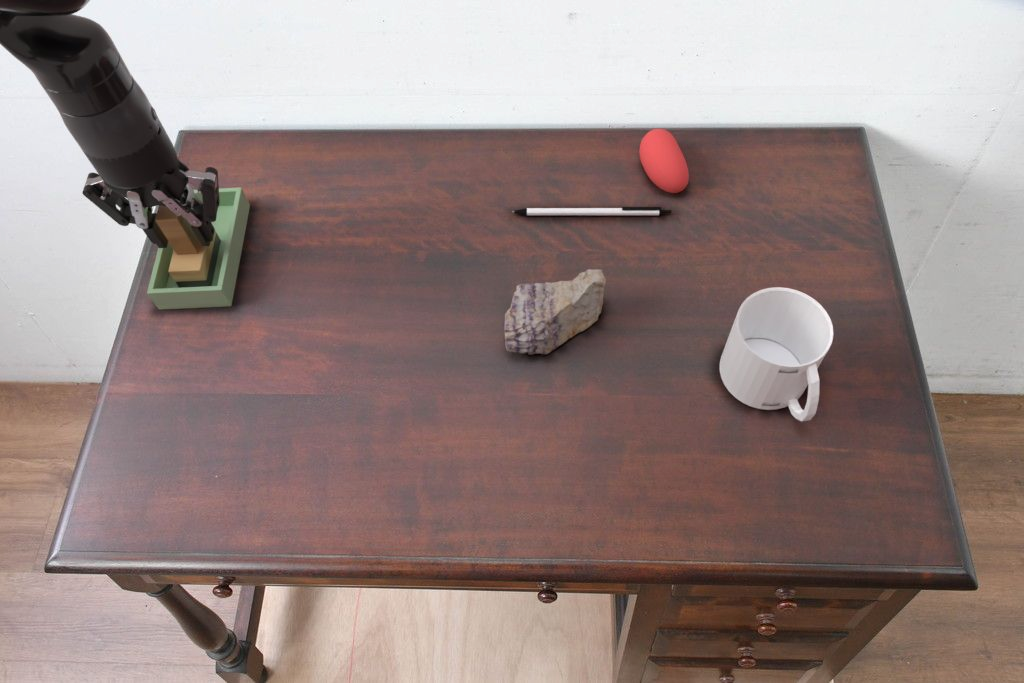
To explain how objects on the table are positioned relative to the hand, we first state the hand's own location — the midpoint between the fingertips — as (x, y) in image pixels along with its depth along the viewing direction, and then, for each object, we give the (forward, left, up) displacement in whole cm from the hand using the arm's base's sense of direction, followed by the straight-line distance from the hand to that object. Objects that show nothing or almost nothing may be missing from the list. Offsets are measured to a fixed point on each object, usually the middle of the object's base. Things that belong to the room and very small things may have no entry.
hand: (186, 240), depth 90 cm
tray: (+1, +2, -5) cm, 6 cm away
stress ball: (+56, -12, -5) cm, 57 cm away
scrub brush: (0, 0, -4) cm, 4 cm away
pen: (+45, -14, -5) cm, 47 cm away
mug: (+50, -43, -5) cm, 66 cm away
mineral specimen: (+33, -26, -5) cm, 42 cm away
